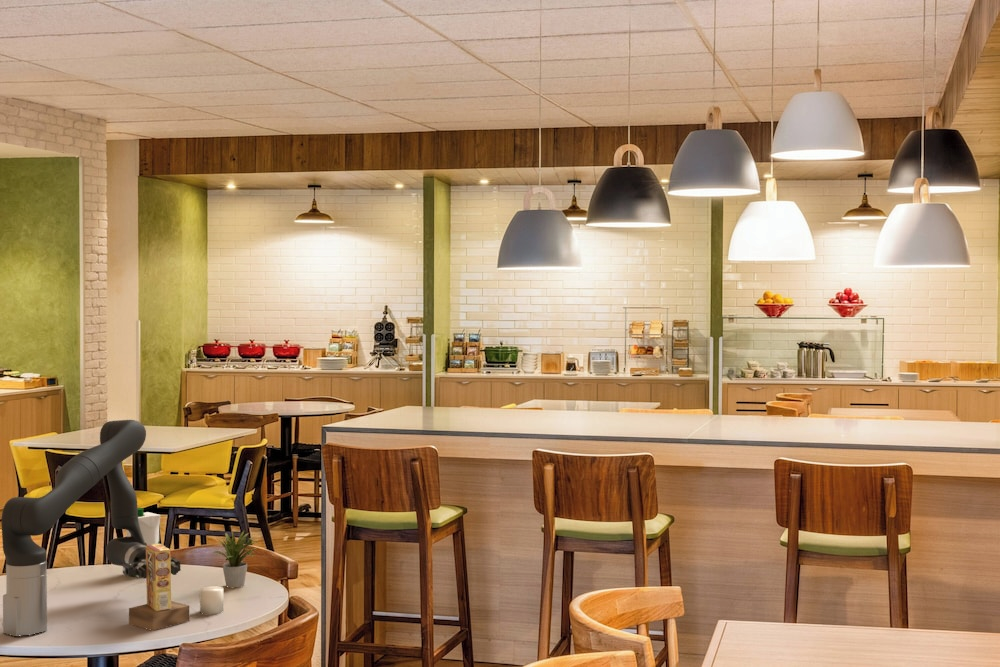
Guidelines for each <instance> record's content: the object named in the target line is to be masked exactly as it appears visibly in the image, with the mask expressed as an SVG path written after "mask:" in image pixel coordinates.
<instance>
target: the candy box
mask: <svg viewBox="0 0 1000 667" xmlns="http://www.w3.org/2000/svg"><path fill="white" fill-rule="evenodd" d="M145 579H146V582H145V583H146V585H145V586H146V604H148V605H149V606H150V607H151V608H153V609H154V610H155V611H161V610H168V609H171V601H172V576H171V549H170V548H168V547H166V545H163V544H162V543H159V544H154V545H146V578H145Z"/></svg>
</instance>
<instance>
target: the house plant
mask: <svg viewBox="0 0 1000 667" xmlns="http://www.w3.org/2000/svg"><path fill="white" fill-rule="evenodd" d="M244 533H245V529H243V531H242V532H240V535H239V537H238V539H237V540H236V537H235V534H234V531H233V530H231V537H230V535H229V534H228V533H227V532H225V533H224V534H225V535H224V536H225V539H226V540H224V539H222V540H221V539H220V538H216V540H218V541H219V543H220V544H221V545H222V546H223V548H224V549H225V553H224V552H222V551H219V550H216V551H213V552H212V554H220V555H222V556H224V557H225V562H226V563H223V564H222V572H223V575H224V581H225V586H228V587H239V588H242V587H241V586H243V587H244V586H245V584H246V576H247V571H248V570H247V569H248V563H247V562H244V561H243V560H244V559H245V558H246V557H247V556H248V555H249V556H251V557H252V558H254V555H253V554H254V553H255V554H256V552H255V551H254V550H256V549H257V547H254V548H251V549H246V548H247V547H248V546H251V545H254V544H258V543H259V541H256V540H257V538H258V537H259V535H257V536H254V537H249V538H248V539H247V536H248V535H249V532H247V533H245V534H244ZM261 536H262V534H261V535H260V537H261ZM254 540H255V542H253V541H254ZM252 553H253V554H252ZM227 561H228V562H227ZM228 587H227V588H228Z"/></svg>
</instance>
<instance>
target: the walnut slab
mask: <svg viewBox="0 0 1000 667" xmlns="http://www.w3.org/2000/svg"><path fill="white" fill-rule="evenodd" d="M187 621H188V622H190V605H188V604H185V603H180V602H176V601H172V600H171V609H168V610H161V611H155V610H154V609H153V608H151V607H150V606H149V605H148V604H147V603H145V604H141V605H136V606H133V607H128V624H129V625H131V624H132V625H131V626H134V627H138V626H139V628H141V629H145V628H147V629H146V630H149V629H151V630H150V631H152V630H154V631H156V629H158V630H160V628H161V629H164V628H163V627H165V628H167V627H166V626H169V627H171V626H170V625H173V626H175V625H174V624H177V625H179V624H178V623H180V624H183V623H182V622H184V623H188V622H187Z"/></svg>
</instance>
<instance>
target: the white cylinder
mask: <svg viewBox="0 0 1000 667" xmlns="http://www.w3.org/2000/svg"><path fill="white" fill-rule="evenodd" d="M222 611H223V612H224V587H223V586H216V585H215V586H204V587H201V588H200V589H199V612H201V613H203V614H202V615H206V614H213V615H218V614H217V613H219V614H222V613H223V612H222ZM221 612H222V613H221ZM201 613H200V614H201Z"/></svg>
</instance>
